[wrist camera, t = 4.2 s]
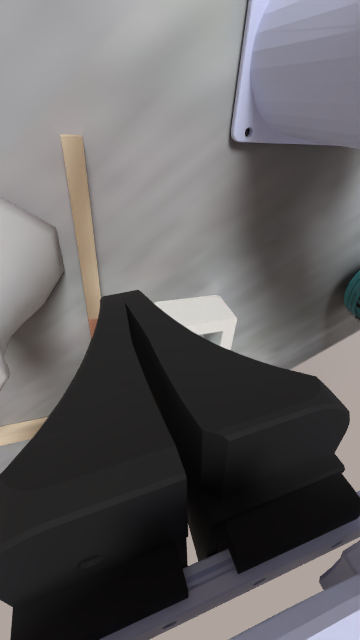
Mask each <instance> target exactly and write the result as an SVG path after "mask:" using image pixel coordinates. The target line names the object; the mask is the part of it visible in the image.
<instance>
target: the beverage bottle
mask: <svg viewBox="0 0 360 640" xmlns="http://www.w3.org/2000/svg"><path fill="white" fill-rule="evenodd" d="M344 303H345V306H346V307H347V309H348V310H349V311H348V312H351V314H352V316H353V315H354V316H355V318H356V319H357V318H358V319H359V320H360V270H359V271H358V272H357V273H356V275H355V276H354V277H353V278H352V280H351V281H350V283H349V285H348V287H347V289H346V291H345V295H344ZM351 314H350V315H351ZM354 316H353V317H354ZM359 322H360V321H359Z"/></svg>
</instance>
